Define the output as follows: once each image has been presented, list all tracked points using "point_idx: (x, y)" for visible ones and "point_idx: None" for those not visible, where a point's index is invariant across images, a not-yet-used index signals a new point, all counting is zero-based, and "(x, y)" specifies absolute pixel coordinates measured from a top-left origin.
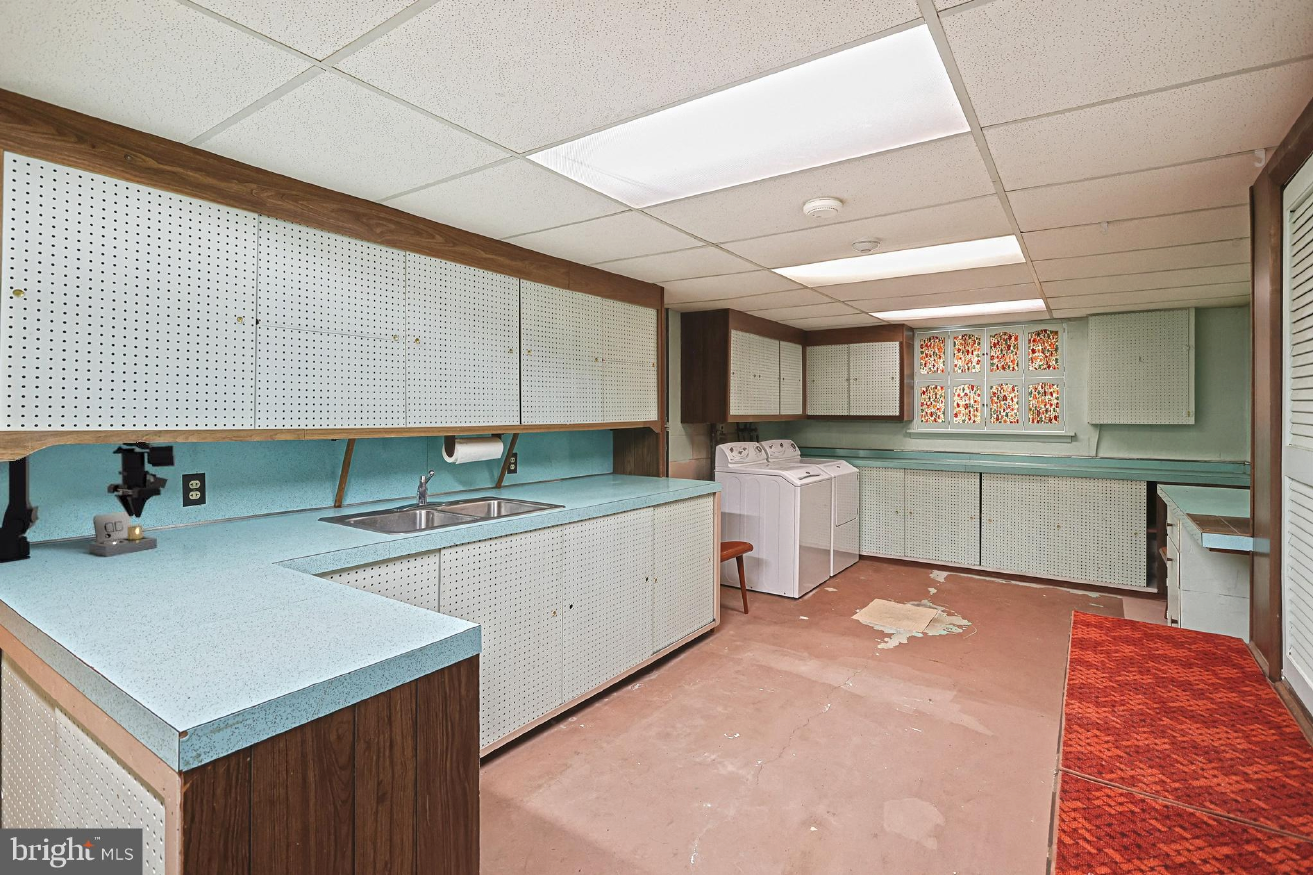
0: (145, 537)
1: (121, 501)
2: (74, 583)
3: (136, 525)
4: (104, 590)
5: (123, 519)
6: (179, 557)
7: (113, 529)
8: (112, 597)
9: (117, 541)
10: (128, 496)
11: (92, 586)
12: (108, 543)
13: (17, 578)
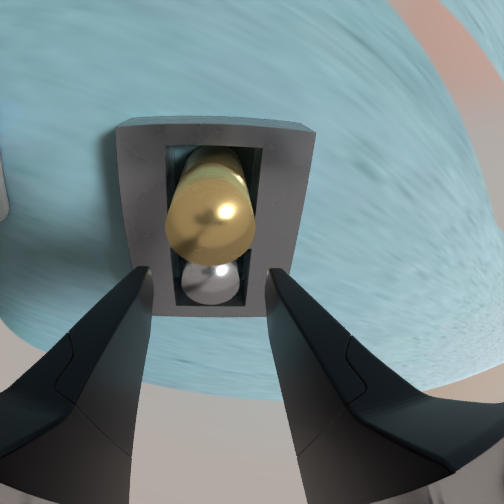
0: (219, 141)
1: (130, 457)
2: (412, 364)
3: (176, 205)
4: (463, 347)
5: None
6: (474, 199)
7: None
8: (480, 345)
9: (236, 274)
10: (96, 488)
11: (443, 353)
12: (228, 296)
13: None
